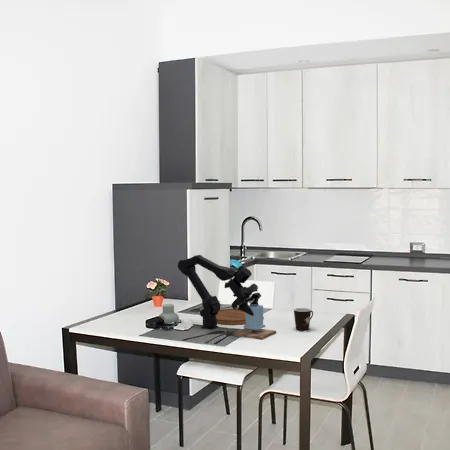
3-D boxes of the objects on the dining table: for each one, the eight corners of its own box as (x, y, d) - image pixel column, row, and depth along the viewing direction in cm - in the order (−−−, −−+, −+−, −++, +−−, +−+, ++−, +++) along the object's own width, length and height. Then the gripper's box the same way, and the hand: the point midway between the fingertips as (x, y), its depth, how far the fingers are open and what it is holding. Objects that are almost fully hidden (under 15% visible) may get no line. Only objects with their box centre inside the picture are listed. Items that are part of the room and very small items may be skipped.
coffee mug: (297, 332, 300) (297, 312, 299) (291, 328, 308) (290, 308, 307) (319, 330, 303) (319, 310, 302) (312, 326, 311) (312, 307, 311)
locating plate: (233, 335, 295) (233, 326, 295) (247, 329, 307) (247, 321, 307) (262, 339, 287) (262, 330, 286) (276, 333, 298) (276, 324, 298)
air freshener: (156, 323, 323) (155, 304, 322) (169, 320, 328) (169, 302, 327) (167, 327, 314) (166, 307, 314) (180, 324, 319) (180, 305, 319)
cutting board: (243, 328, 310) (243, 323, 310) (192, 321, 328) (192, 316, 328) (274, 316, 337) (274, 312, 337) (225, 310, 354) (225, 306, 354)
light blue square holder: (243, 327, 296) (243, 306, 295) (252, 324, 302) (252, 303, 301) (256, 329, 291) (256, 308, 291) (265, 326, 297) (265, 305, 297)
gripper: (236, 281, 290) (256, 307, 284) (258, 276, 305) (277, 300, 299) (223, 296, 295) (242, 321, 289) (245, 290, 310) (263, 314, 304)
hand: (256, 314), depth 295 cm, fingers closed on light blue square holder, 6 cm apart
